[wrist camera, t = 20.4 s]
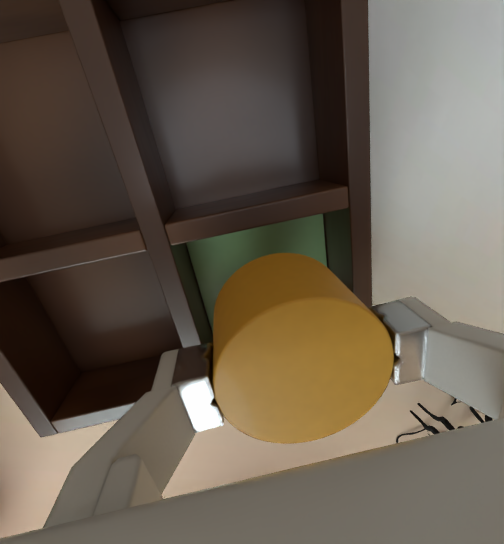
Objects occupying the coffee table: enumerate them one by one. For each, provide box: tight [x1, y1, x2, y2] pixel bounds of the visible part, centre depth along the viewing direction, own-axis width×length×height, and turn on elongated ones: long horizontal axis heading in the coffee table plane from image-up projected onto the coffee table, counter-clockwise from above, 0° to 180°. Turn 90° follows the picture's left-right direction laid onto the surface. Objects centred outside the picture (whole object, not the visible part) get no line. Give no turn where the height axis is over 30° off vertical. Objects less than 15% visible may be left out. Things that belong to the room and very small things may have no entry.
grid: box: [0, 0, 372, 437], centre depth 10 cm, size 15×23×4 cm
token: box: [212, 253, 394, 443], centre depth 9 cm, size 5×5×3 cm
